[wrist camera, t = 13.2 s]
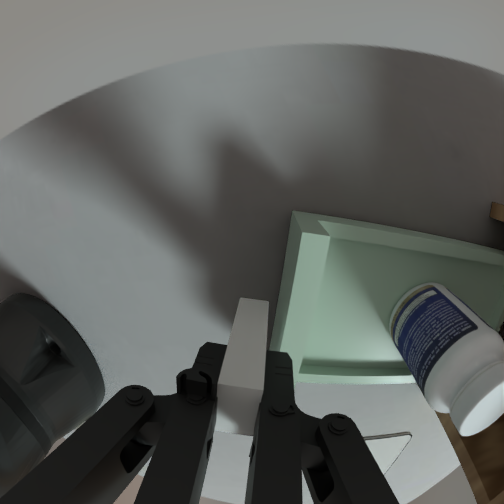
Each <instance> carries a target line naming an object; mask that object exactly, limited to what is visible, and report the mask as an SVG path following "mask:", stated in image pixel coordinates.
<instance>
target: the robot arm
mask: <svg viewBox="0 0 504 504" xmlns="http://www.w3.org/2000/svg"><path fill="white" fill-rule="evenodd" d="M268 310H269V301H264V300H256V299H249V298H242V297H240V300H239V304H238V308H237V311H236V315H235V319H234V323H233V327H232V330H231V334H230V338H229V342H228V345H223V344H217V343H211V342H207V343H205V344H204V345H203V346H202V347H200V349H199V352H198V354H197V357H196V359H195V362H194V364H193V367H192V368H190V369H185V370H183V371H181V372H180V373H179V374H178V375H177V376H176V381H177V393H175V394H172V395H153V394H152V392H151V391H150V390H149V389H147V388H146V387H143V386H140V385H130V386H126V387H124V388H123V389H121V390H120V391H119V392H118V393H116V394H115V395H114V396H113V397H112V398H111V399H110V400H109V401H108V402H107V403H106V404H104V405H103V406H102V407H101V408H100V409H99V410H98V411H97V409H98V408H99V406H100V404H101V403H102V401H103V399H104V395H105V387H104V381H103V378H102V374H101V372H100V369H99V367H98V365H97V363H96V361H95V359H94V357H93V355H92V354H91V352H90V350H89V349H88V347H87V346H86V344H85V343H84V342H83V340H82V339H81V338H80V336H79V335H78V334H77V333H76V331H75V330H74V329H73V328H72V327H71V326H70V324H69V323H68V322H67V321H66V320H65V319H64V318H63V317H62V316H61V315H60V314H59V313H57V312H56V311H55V310H54V309H53V308H51V307H50V306H49V305H47V304H46V303H45V302H43V301H41V300H40V299H38V298H36V297H34V296H31V295H28V294H23V293H18V294H14V295H12V296H10V297H9V298H7V299H6V300H4V301H3V302H1V303H0V504H113V503H114V502H115V500H116V499H117V498H118V497H119V496H120V494H121V493H122V492H123V490H125V488H126V487H127V486H128V485H129V483H130V482H131V481H132V480H133V479H134V477H135V476H136V475H137V474H138V472H139V471H140V470H141V469H142V467H143V466H144V465H145V464H146V462H147V461H148V460H149V459H150V457H151V456H152V458H151V460H150V463H149V466H148V468H147V471H146V473H145V476H144V478H143V481H142V484H141V486H140V489H139V491H138V494H137V497H136V500H135V502H134V504H199V500H200V496H201V491H202V487H203V483H204V478H205V474H206V469H207V465H208V461H209V456H210V452H211V447H212V443H213V433H214V429H215V431H221V432H227V433H233V434H240V435H248V436H253V442H252V446H251V450H250V455H249V457H250V463H249V472H248V480H247V489H246V497H245V504H302V471H303V474H304V477H305V480H306V483H307V485H308V488H309V491H310V494H311V497H312V500H313V502H314V504H399V502H398V500H397V499H396V497H395V495H394V493H393V491H392V489H391V488H390V486H389V484H388V482H387V480H386V479H385V477H384V475H383V473H382V471H381V469H380V468H379V466H378V464H377V462H376V460H375V459H374V457H373V455H372V453H371V451H370V449H369V448H368V446H367V444H366V442H365V440H364V439H363V437H362V435H361V433H360V431H359V430H358V428H357V426H356V424H355V423H354V422H353V420H352V419H351V418H349V417H347V416H346V415H342V414H339V413H335V414H329V415H326V416H324V417H323V418H322V419H319V418H316V417H312V416H310V415H307V414H305V413H304V412H302V411H301V410H300V409H299V408H298V407H297V405H296V404H295V397H294V379H293V362H292V359H291V357H290V356H289V354H288V353H287V352H279V351H271V350H266V344H267V327H268ZM96 411H97V412H96ZM95 412H96V413H95ZM84 421H86V422H85V423H84V424H83V425H82V426H80V427H79V428H78V429H77V430H76V431H75V432H74V433H73V434H72V435H71V436H69V437H68V438H67V439H66V440H65V441H64V442H63V443H62V444H61V445H59V446H58V447H57V449H55V450H54V451H53V452H52V453H51V454H50V455H49V456H47V457H46V455H47V453H48V452H49V450H50V449H51V447H52V446H53V444H54V443H55V442H56V441H57V440H59V439H60V438H62V437H63V436H65V435H66V434H68V433H69V432H71V431H72V430H73V429H75V428H76V427H78V426H79V425H80V424H81V423H83V422H84ZM45 457H46V458H45ZM44 458H45V459H44Z"/></svg>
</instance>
